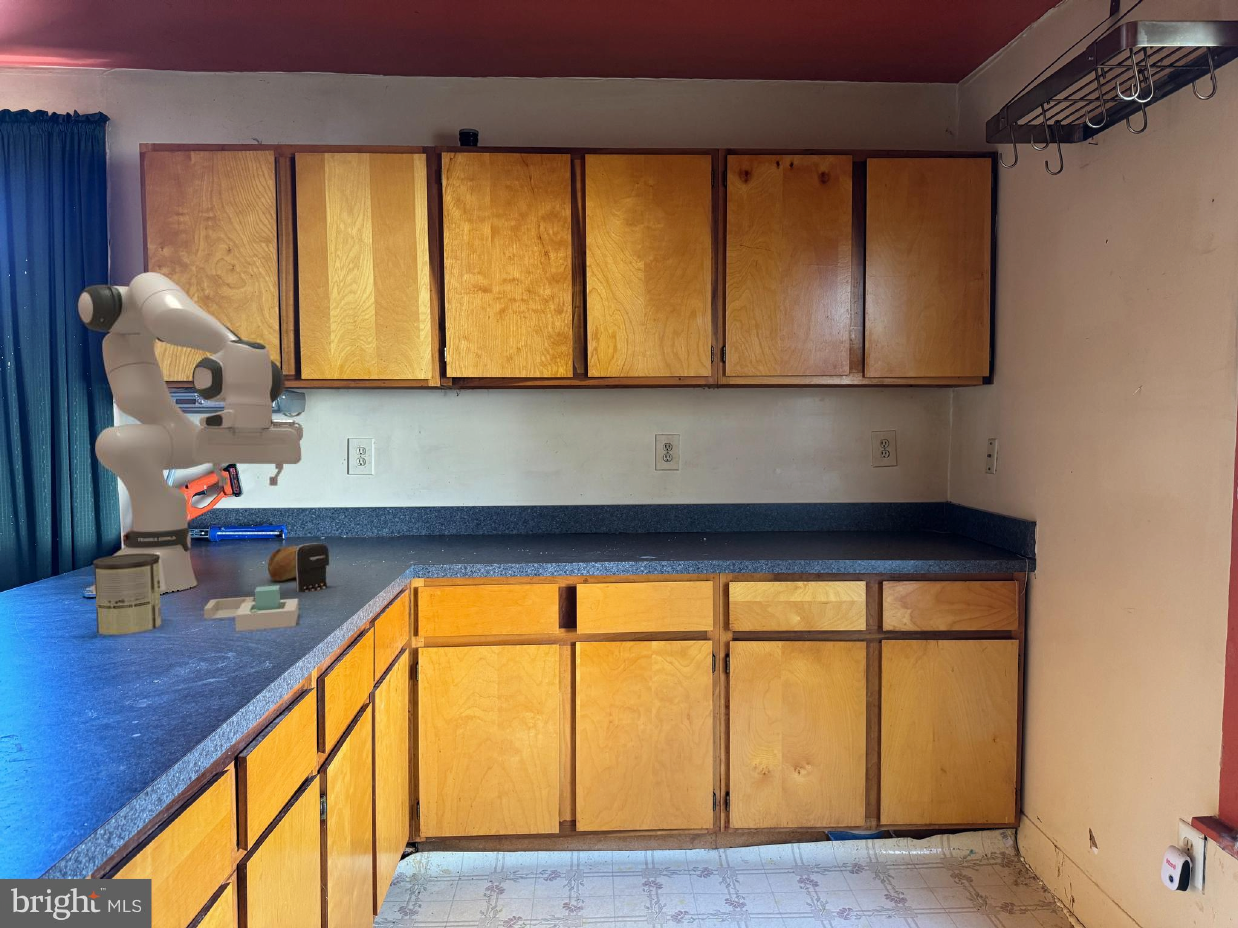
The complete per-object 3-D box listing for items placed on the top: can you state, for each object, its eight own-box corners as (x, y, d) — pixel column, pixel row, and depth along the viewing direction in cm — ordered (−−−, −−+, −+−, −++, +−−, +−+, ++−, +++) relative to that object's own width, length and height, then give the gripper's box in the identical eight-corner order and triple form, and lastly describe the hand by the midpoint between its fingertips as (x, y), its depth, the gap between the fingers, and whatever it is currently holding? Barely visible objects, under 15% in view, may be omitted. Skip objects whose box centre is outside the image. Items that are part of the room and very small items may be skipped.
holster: (204, 623, 146) (203, 608, 146) (211, 614, 153) (210, 599, 153) (249, 620, 149) (249, 605, 148) (254, 610, 156) (254, 596, 156)
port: (236, 636, 137) (235, 612, 137) (243, 623, 146) (242, 600, 146) (295, 631, 140) (294, 608, 140) (298, 618, 150) (298, 596, 150)
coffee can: (88, 633, 139) (85, 558, 138) (150, 622, 147) (147, 551, 146) (107, 644, 133) (104, 565, 132) (171, 631, 141) (168, 557, 140)
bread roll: (256, 583, 184) (255, 550, 184) (293, 571, 199) (292, 541, 198) (291, 584, 182) (290, 552, 182) (326, 572, 197) (325, 542, 197)
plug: (255, 628, 141) (254, 591, 140) (258, 622, 145) (257, 586, 144) (279, 626, 142) (278, 589, 142) (280, 620, 146) (279, 585, 146)
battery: (304, 597, 168) (302, 546, 168) (294, 595, 170) (293, 545, 170) (332, 591, 174) (331, 543, 173) (323, 589, 176) (322, 541, 175)
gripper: (303, 420, 162) (303, 483, 163) (196, 417, 155) (197, 484, 156) (302, 420, 156) (301, 486, 157) (190, 418, 149) (191, 487, 150)
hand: (248, 485), depth 156 cm, fingers open, 8 cm apart
